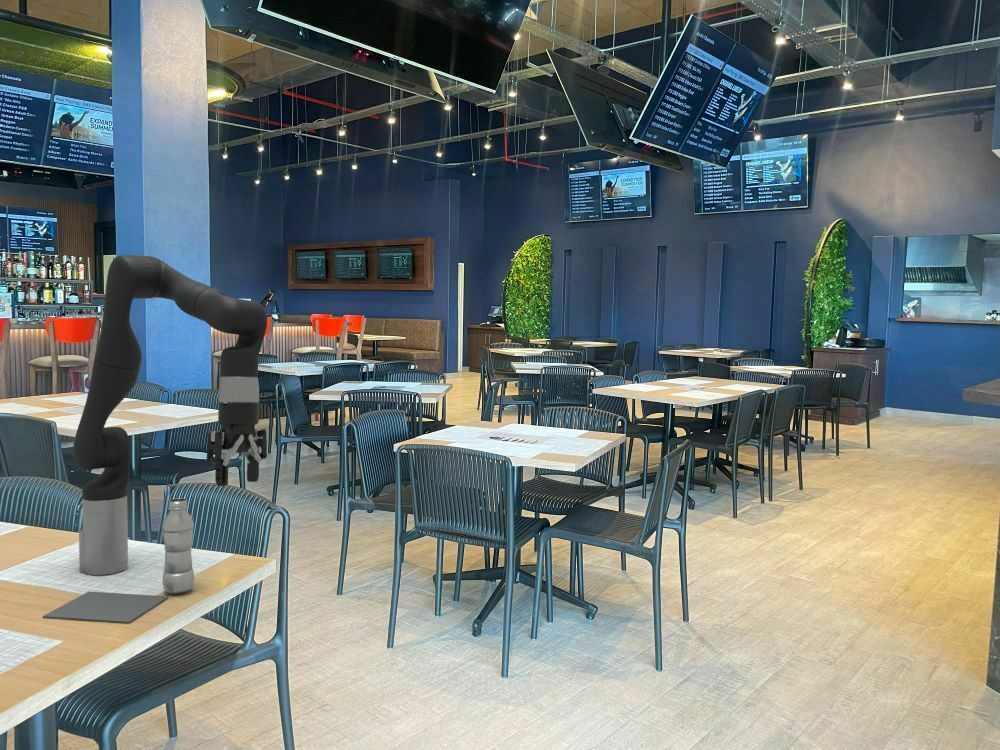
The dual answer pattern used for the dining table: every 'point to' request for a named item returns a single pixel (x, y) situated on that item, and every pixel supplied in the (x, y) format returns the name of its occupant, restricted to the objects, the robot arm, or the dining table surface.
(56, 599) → the dining table surface
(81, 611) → the rubber mat
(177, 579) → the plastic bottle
